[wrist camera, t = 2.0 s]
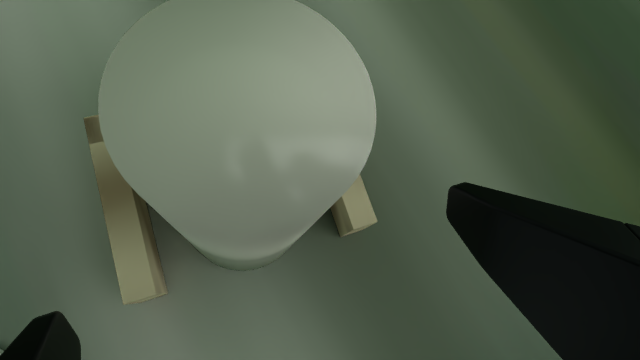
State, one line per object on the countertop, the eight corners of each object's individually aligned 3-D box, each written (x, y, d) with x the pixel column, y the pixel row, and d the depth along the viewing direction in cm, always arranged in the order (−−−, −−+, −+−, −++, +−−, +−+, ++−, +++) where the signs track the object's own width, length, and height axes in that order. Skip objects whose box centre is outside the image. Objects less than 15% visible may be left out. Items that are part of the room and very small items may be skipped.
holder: (361, 230, 20) (377, 221, 17) (140, 302, 17) (123, 304, 15) (313, 94, 22) (321, 70, 19) (103, 139, 19) (83, 117, 16)
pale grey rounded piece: (313, 250, 19) (414, 189, 8) (203, 286, 18) (132, 276, 6) (268, 112, 21) (297, -104, 9) (164, 136, 19) (52, -87, 8)
